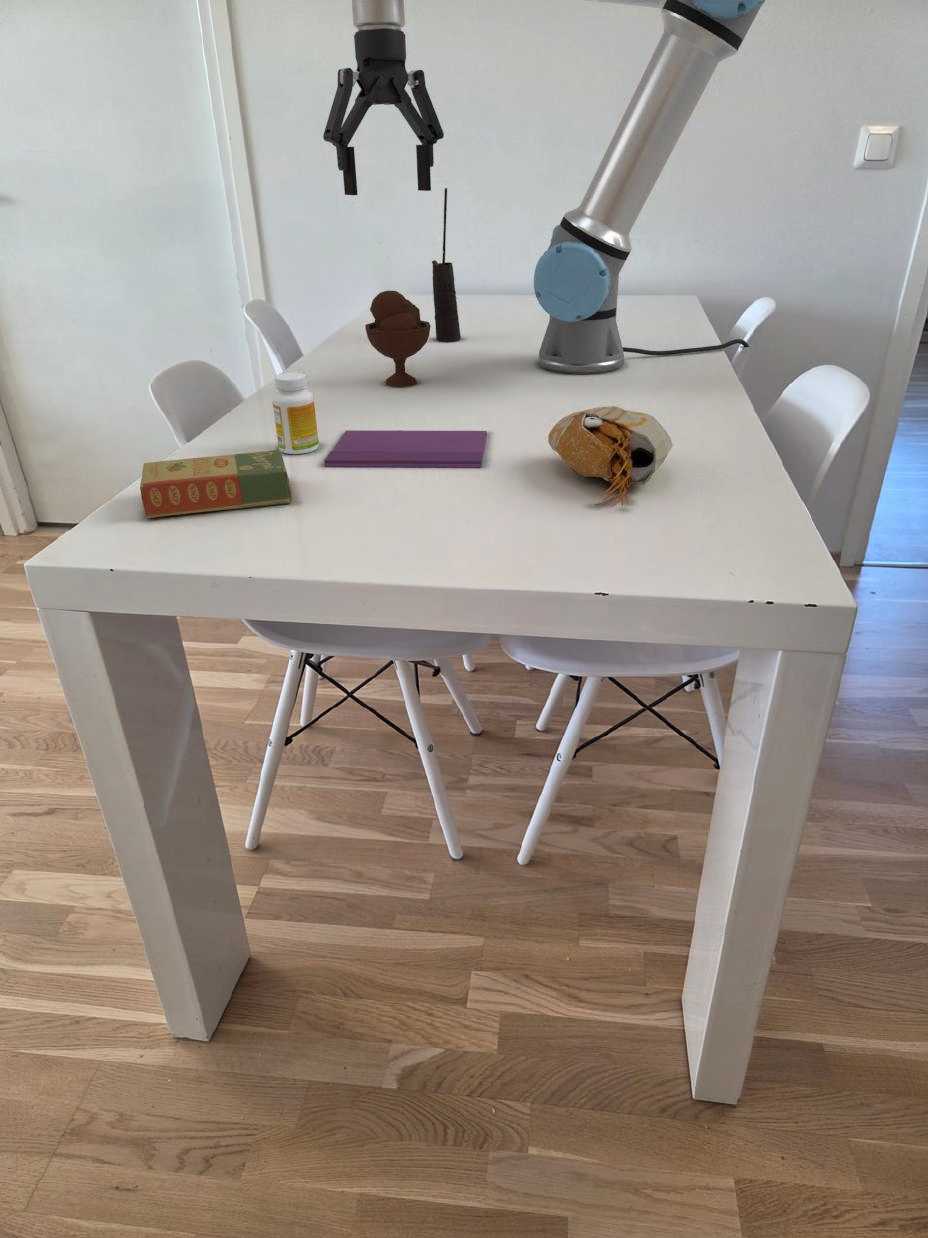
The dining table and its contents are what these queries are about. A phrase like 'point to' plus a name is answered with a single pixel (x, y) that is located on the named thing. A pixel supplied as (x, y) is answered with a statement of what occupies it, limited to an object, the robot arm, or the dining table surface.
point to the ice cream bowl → (397, 333)
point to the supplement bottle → (294, 414)
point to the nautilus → (612, 445)
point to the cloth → (408, 449)
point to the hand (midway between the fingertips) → (388, 192)
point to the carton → (214, 483)
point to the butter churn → (445, 295)
